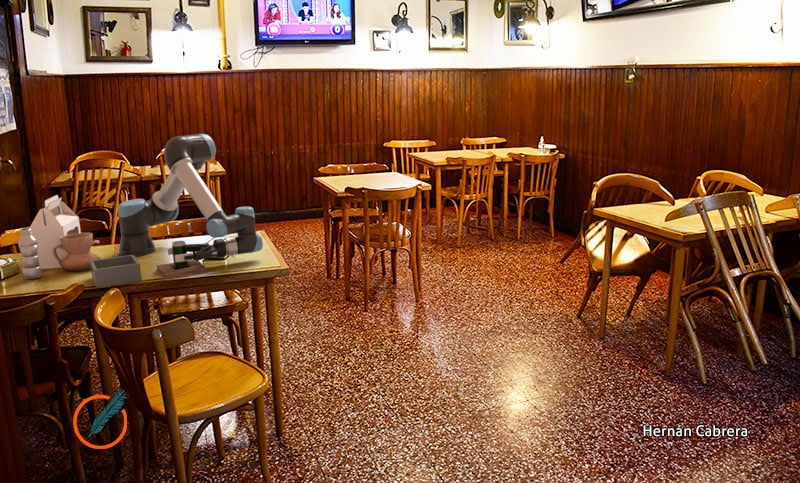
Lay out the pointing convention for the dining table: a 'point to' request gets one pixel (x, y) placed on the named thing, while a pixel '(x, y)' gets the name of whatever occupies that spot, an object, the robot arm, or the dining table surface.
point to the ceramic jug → (76, 251)
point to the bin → (115, 271)
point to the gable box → (53, 230)
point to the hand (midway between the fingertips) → (171, 255)
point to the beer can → (178, 249)
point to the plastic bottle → (29, 254)
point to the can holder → (170, 272)
